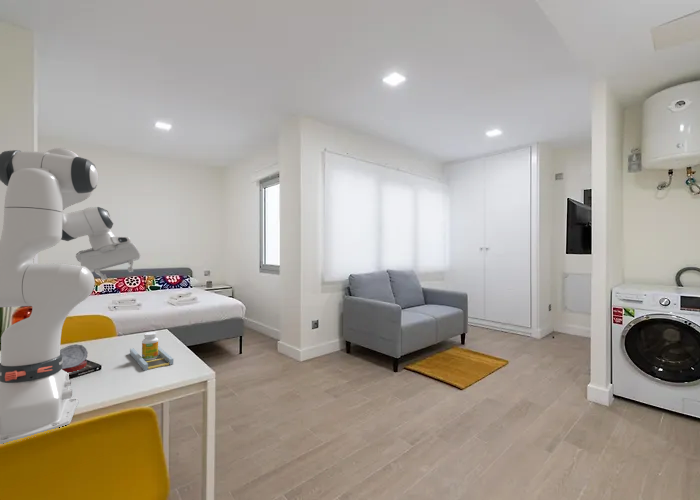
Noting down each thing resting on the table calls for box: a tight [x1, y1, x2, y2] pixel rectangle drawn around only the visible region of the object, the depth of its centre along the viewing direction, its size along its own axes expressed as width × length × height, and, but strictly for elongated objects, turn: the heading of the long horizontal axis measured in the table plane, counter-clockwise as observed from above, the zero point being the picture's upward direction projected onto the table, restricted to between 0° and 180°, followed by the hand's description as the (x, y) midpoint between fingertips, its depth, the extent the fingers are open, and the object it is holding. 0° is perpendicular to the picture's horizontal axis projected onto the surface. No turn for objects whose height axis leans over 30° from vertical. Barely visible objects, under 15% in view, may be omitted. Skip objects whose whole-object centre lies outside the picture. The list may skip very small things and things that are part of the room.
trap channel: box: [129, 345, 174, 371], centre depth 127 cm, size 24×9×2 cm, turn 44°
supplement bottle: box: [141, 331, 159, 361], centre depth 127 cm, size 5×5×10 cm
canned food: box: [60, 344, 89, 372], centre depth 113 cm, size 11×10×10 cm
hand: (118, 275), depth 134 cm, fingers open, 8 cm apart
